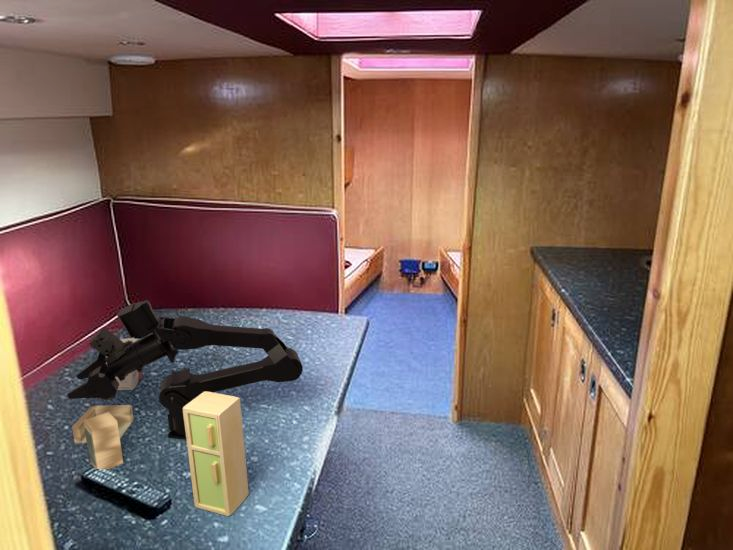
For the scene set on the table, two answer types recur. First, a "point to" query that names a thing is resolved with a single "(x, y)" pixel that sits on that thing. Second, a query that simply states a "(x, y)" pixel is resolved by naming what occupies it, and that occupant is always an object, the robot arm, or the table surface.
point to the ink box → (129, 375)
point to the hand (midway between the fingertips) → (73, 386)
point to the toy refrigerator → (216, 452)
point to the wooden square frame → (117, 411)
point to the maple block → (103, 441)
